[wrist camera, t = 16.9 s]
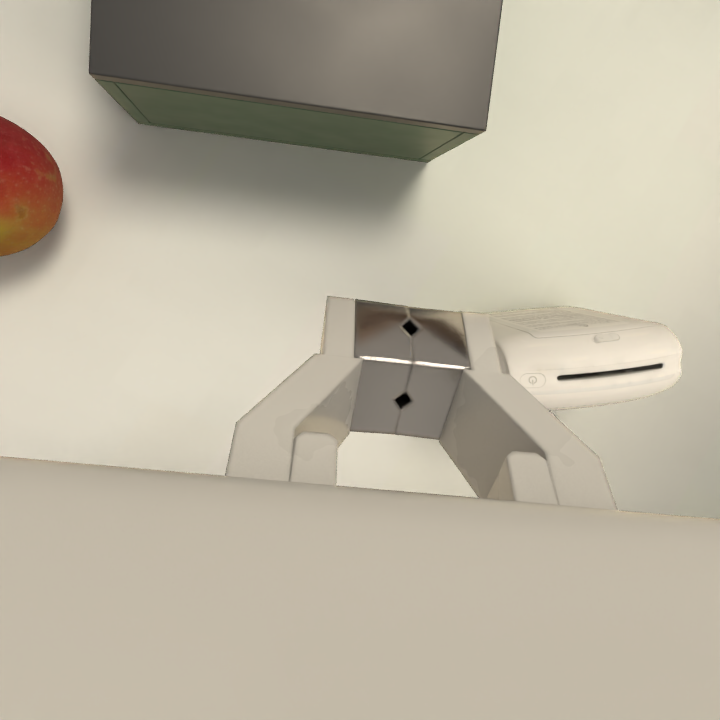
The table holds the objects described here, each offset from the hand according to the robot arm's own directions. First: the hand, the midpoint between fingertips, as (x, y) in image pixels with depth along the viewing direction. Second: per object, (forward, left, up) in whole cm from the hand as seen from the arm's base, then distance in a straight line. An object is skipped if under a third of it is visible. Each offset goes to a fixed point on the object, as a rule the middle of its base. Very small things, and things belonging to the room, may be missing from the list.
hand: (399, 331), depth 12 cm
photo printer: (-14, +3, -29) cm, 32 cm away
